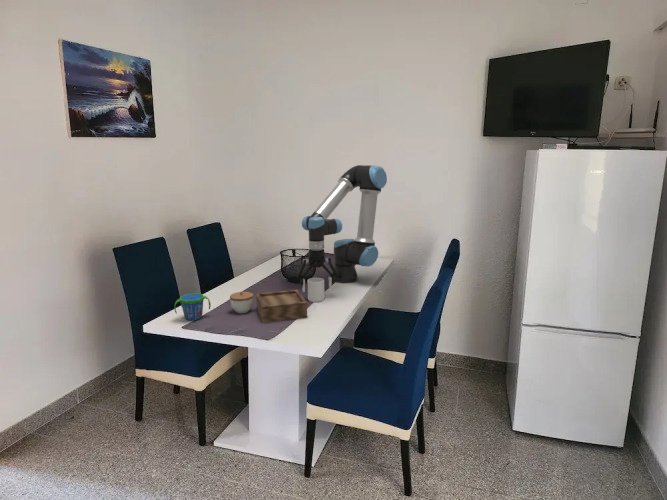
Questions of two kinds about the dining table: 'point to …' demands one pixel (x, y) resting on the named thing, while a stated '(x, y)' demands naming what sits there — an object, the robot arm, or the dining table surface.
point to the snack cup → (192, 305)
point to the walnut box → (281, 306)
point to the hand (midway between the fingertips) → (317, 290)
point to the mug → (315, 289)
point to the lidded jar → (241, 301)
